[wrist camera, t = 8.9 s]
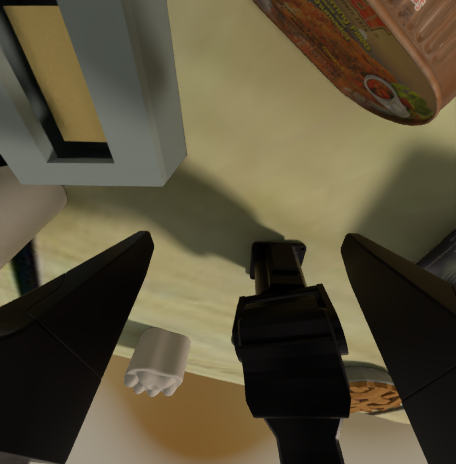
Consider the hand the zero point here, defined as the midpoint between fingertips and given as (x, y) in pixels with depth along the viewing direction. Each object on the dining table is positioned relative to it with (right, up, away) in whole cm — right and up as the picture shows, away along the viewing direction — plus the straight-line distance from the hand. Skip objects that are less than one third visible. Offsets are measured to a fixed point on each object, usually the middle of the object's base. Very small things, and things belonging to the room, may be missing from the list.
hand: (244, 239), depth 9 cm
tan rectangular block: (-10, +12, +6) cm, 16 cm away
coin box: (-10, +12, +6) cm, 17 cm away
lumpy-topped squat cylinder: (-15, -24, +35) cm, 45 cm away
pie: (+30, -37, +41) cm, 63 cm away
